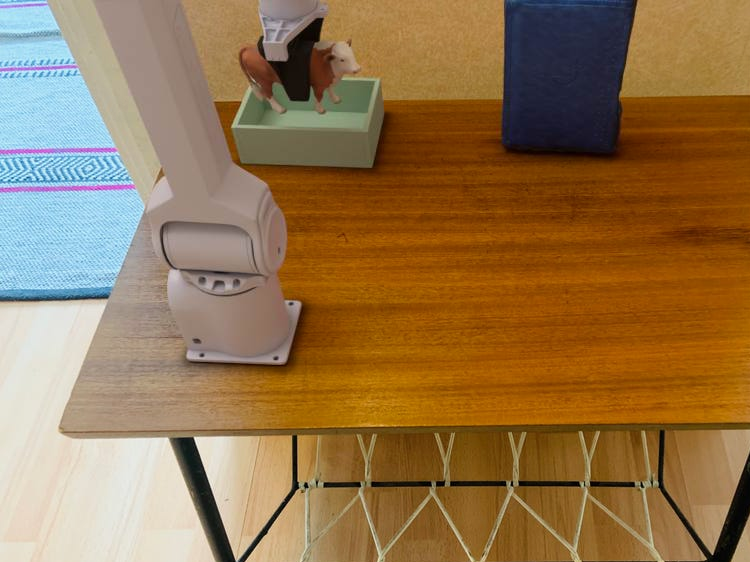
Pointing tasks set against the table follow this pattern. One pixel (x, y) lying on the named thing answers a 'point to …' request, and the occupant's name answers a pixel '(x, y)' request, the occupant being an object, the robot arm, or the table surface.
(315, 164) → the bin
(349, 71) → the bull figurine
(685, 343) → the table surface
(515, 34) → the book
